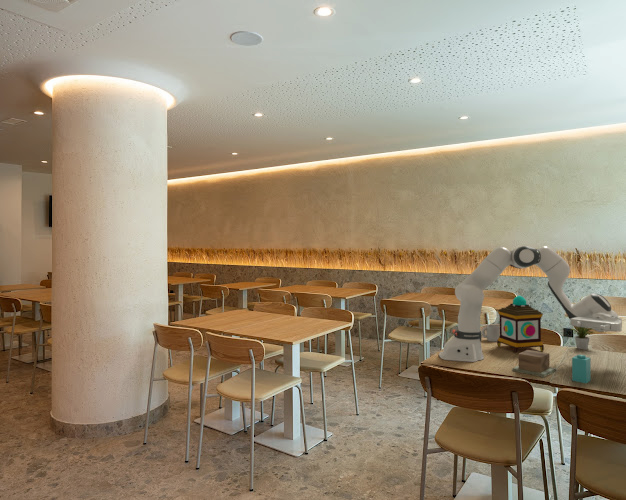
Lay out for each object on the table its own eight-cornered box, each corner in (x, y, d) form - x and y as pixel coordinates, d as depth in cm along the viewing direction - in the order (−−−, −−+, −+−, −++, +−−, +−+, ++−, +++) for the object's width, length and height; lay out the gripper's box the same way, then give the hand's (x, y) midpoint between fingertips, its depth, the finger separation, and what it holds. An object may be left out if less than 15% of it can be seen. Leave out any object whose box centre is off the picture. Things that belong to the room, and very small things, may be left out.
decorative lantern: (493, 345, 258) (492, 294, 257) (523, 343, 262) (523, 292, 261) (515, 354, 238) (515, 298, 238) (548, 352, 242) (547, 297, 241)
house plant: (584, 353, 238) (584, 322, 238) (561, 347, 251) (561, 318, 250) (602, 350, 244) (602, 320, 243) (578, 344, 256) (578, 316, 256)
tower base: (543, 377, 200) (543, 359, 200) (512, 370, 210) (512, 353, 210) (555, 370, 209) (555, 353, 209) (525, 364, 219) (525, 348, 219)
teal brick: (586, 383, 191) (586, 357, 190) (572, 380, 195) (572, 355, 195) (590, 380, 194) (590, 355, 194) (576, 377, 199) (576, 353, 198)
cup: (499, 342, 267) (499, 327, 266) (482, 341, 270) (481, 326, 270) (499, 339, 273) (499, 325, 273) (481, 338, 277) (481, 324, 276)
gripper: (575, 313, 219) (565, 316, 209) (625, 318, 203) (616, 322, 194) (576, 325, 219) (565, 330, 210) (625, 331, 203) (616, 336, 194)
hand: (590, 326), depth 202 cm, fingers open, 8 cm apart
